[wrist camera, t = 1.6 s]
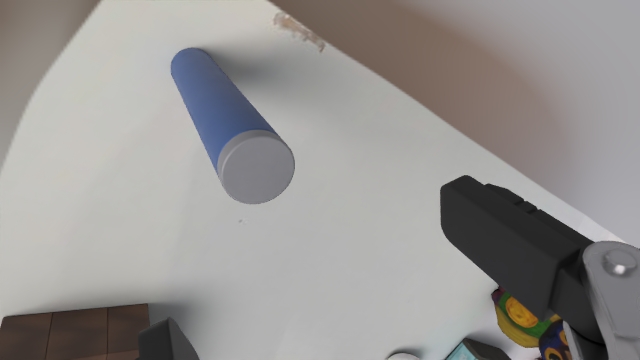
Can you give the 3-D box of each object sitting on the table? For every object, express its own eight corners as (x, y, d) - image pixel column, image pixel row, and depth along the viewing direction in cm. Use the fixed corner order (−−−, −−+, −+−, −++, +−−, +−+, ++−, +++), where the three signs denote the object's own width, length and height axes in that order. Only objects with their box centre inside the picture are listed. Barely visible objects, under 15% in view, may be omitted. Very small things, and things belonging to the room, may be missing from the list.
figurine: (509, 263, 61) (603, 338, 49) (530, 268, 65) (622, 338, 53) (474, 310, 64) (555, 391, 52) (497, 312, 68) (577, 388, 56)
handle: (168, 86, 27) (214, 204, 15) (173, 43, 26) (229, 131, 14) (210, 93, 29) (285, 205, 16) (217, 53, 28) (304, 141, 15)
